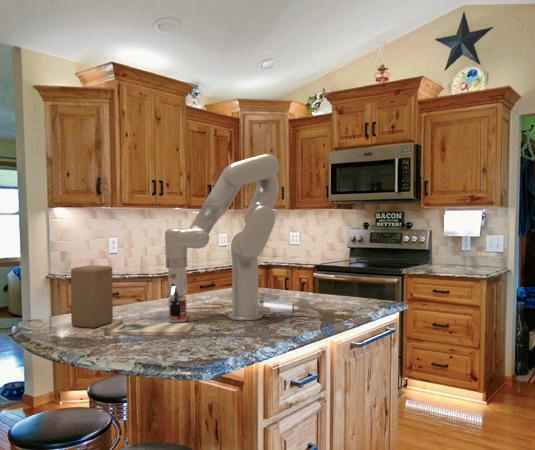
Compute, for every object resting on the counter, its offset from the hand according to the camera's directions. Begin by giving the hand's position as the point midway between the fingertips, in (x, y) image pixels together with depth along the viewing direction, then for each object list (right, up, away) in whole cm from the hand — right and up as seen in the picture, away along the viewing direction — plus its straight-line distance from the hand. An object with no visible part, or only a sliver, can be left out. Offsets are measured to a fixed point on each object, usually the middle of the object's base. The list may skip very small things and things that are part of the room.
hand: (177, 313), depth 162 cm
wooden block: (-29, -3, -4) cm, 29 cm away
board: (-6, -3, -14) cm, 16 cm away
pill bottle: (0, -3, 0) cm, 3 cm away
